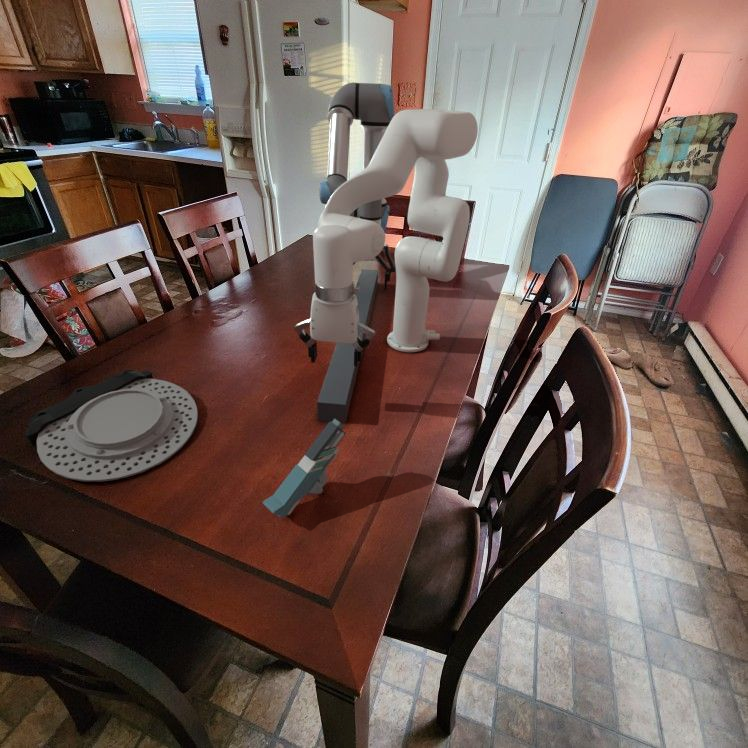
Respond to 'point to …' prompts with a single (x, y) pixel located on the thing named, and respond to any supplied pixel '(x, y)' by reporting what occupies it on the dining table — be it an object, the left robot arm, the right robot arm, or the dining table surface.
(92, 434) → the brake disc
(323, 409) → the bar
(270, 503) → the toy gun
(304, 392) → the dining table surface
